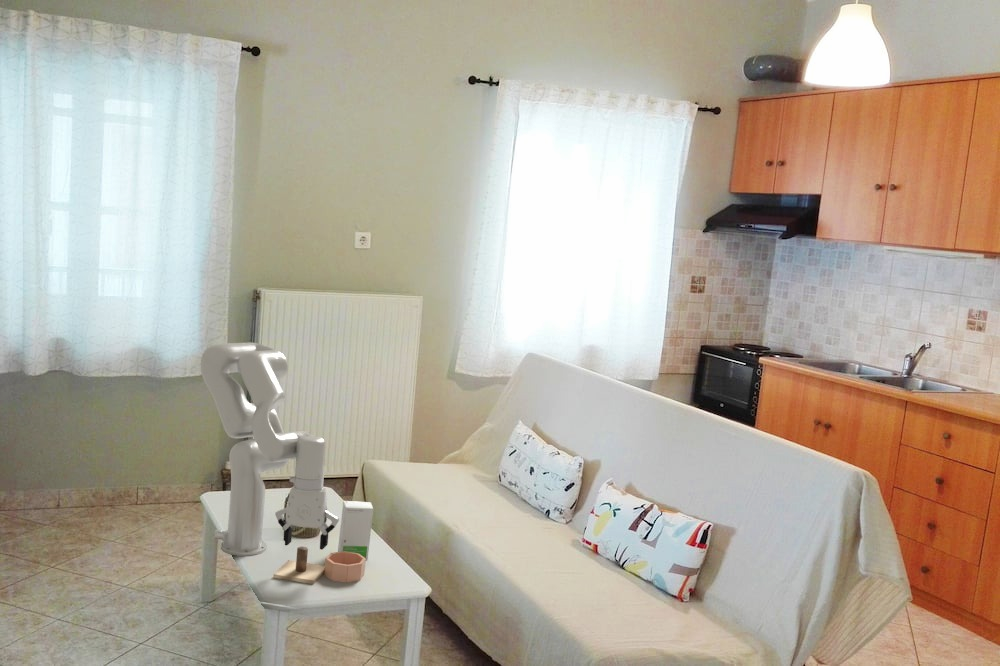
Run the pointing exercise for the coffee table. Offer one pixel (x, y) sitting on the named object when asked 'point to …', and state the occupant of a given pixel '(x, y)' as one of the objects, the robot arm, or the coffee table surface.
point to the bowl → (345, 566)
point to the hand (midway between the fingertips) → (305, 545)
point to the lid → (300, 569)
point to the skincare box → (355, 527)
